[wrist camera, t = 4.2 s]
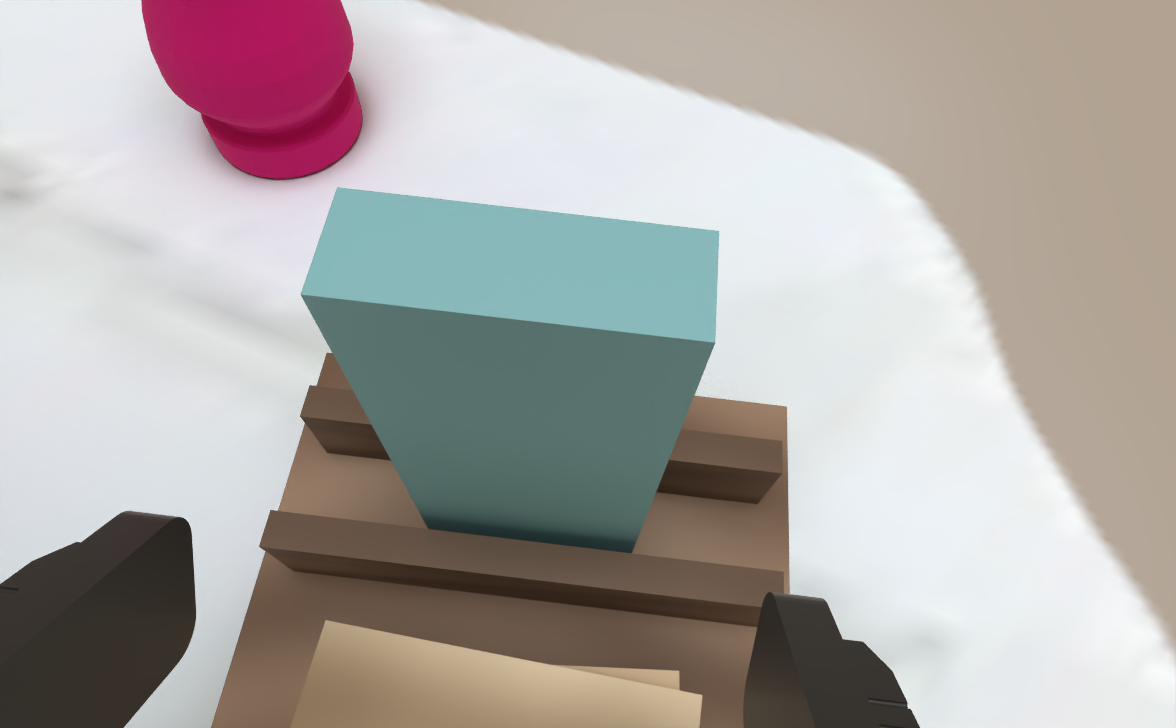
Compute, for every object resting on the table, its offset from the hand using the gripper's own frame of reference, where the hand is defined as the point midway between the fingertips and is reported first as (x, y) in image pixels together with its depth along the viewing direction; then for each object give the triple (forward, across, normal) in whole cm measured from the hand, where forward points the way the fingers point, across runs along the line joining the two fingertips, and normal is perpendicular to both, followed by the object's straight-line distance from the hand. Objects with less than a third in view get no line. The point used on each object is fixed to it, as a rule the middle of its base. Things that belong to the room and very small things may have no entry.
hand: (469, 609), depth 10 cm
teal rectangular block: (+12, 0, +5) cm, 13 cm away
